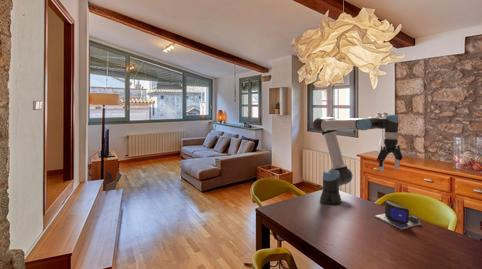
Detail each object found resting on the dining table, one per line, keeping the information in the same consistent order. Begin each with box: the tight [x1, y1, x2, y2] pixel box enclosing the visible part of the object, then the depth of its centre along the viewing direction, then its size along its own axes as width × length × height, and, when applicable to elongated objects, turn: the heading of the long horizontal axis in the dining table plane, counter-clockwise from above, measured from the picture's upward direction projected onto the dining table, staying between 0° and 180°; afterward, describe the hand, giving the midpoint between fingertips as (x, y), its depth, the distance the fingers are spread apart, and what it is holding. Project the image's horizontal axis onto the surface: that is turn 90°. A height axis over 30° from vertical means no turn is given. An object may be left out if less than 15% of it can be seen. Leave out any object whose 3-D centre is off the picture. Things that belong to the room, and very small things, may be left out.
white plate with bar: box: [375, 213, 421, 230], centre depth 162 cm, size 18×16×4 cm
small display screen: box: [384, 200, 410, 224], centre depth 162 cm, size 16×5×9 cm, turn 19°
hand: (389, 170), depth 172 cm, fingers open, 13 cm apart
